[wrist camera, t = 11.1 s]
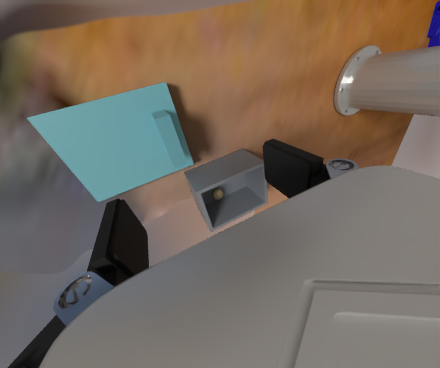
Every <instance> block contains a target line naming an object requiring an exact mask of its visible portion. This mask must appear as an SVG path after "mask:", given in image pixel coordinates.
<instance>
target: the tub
mask: <svg viewBox="0 0 440 368" xmlns="http://www.w3.org/2000/svg"><path fill="white" fill-rule="evenodd" d="M184 174H185V176H186V179H187V181H188V184H189V186H190V189H191V192H192V194H193V197H194V199H195V202H196V204H197V207H198V209H199V211H200V213H201V215H202V217H203V219H204V221H205V222H206V224H207V226H208V228H209V230H210V232H212V231H214V230H216V229H218V228H220V227H222V226H224V225H226V224H228V223H230V222H232V221H234V220H236V219H238V218H240V217H242V216H244V215H246V214H247V213H250V212H251V211H253V210H255V209H257V208H259V207H261V206H263V205H265V204H267V203H268V194H267V181H266V180H265V175H264V160H262V159H261V158H259V157H257V156H255V155H253V154H252V153H250V152H248V151H246V150H244V149H241V150H238V151H236V152H233V153H231V154H228V155H226V156H223V157H221V158H218V159H216V160H213V161H211V162H208V163H206V164H203V165H201V166H198V167H196V168H193V169H191V170H188V171H186V172H184Z"/></svg>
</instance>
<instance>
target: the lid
mask: <svg viewBox="0 0 440 368" xmlns="http://www.w3.org/2000/svg"><path fill="white" fill-rule="evenodd" d="M27 119H28V120H29V121H30V122H31V124H32V125H33V126H34V127H35V128H36V129H37V131H38V132H39V133H40V134H41V135H42V137H43V138H44V139H45V140H46V141H47V142H48V144H49V145H50V146H51V147H52V148H53V149H54V151H55V152H56V153H57V154H58V155H59V157H60V158H61V159H62V160H63V161H64V162H65V164H66V165H67V166H68V167H69V168H70V170H71V171H72V172H73V173H74V174H75V175H76V177H77V178H78V179H79V180H80V181H81V182H82V184H83V185H84V186H85V187H86V188H87V190H88V191H89V192H90V193H91V194H92V195H93V197H94V198H95V199H96V200H97V201H98V202H100V201H102V200H105V199H107V198H110V197H112V196H115V195H117V194H120V193H122V192H125V191H128V190H130V189H133V188H135V187H138V186H140V185H143V184H145V183H148V182H150V181H153V180H155V179H158V178H160V177H163V176H165V175H168V174H171V173H173V172H176V171H178V170H181V169H183V168H186V167H188V166H191V165H193V164H194V163H193V160H192V157H191V154H190V151H189V148H188V145H187V142H186V140H185V137H184V134H183V131H182V128H181V125H180V122H179V119H178V116H177V113H176V110H175V107H174V104H173V101H172V98H171V95H170V92H169V90H168V87H167V84H166V82H163V83H159V84H155V85H152V86H148V87H144V88H140V89H136V90H132V91H128V92H125V93H121V94H117V95H113V96H109V97H105V98H101V99H98V100H94V101H90V102H86V103H82V104H78V105H74V106H70V107H67V108H63V109H59V110H55V111H51V112H47V113H43V114H40V115H36V116H32V117H29V118H27Z"/></svg>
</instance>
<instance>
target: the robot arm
mask: <svg viewBox="0 0 440 368" xmlns="http://www.w3.org/2000/svg"><path fill="white" fill-rule="evenodd" d="M334 104H335V108H336V110H337V112H338V113H339V114H341V115H347V116H348V115H352V114H355V113H356V112H358V111H359V110H360V109H366V110H376V111H387V112H398V113H409V114H421V115H430V116H440V46H434V47H427V48H420V49H413V50H406V51H398V52H391V53H384V54H382V53H381V51H380V49H379V48H378V47H377V46H374V45H371V46H366V47H362V48H361V49H359V50H358V51H356V52H355V53H354V54H353V55H352V56H351V58H350V59H349V60H348V61H347V63H346V64H345V66H344V68H343V70H342V71H341V74H340V76H339V78H338V81H337V84H336V88H335V94H334ZM263 159H264V175H265V180H266V181H267V182H268V183H269V184H271V185H272V186H273V187H275V188H276V189H277V190H279V191H280V192H281V193H283V194H284V195H285V196H287V197H288V198H289V199H287V200H285V201H283V202H281V203H279V204H277V205H275V206H273V207H271V208H269V209H267V210H264V211H262V212H260V213H258V214H256V215H254V216H252V217H250V218H248V219H246V220H244V221H242V222H240V223H238V224H236V225H234V226H232V227H230V228H228V229H226V230H224V231H222V232H219V233H218V234H215V235H213V236H211V237H209V238H207V239H206V240H203V241H202V242H199V243H197V244H195V245H193V246H191V247H189V248H187V249H185V250H183V251H181V252H179V253H177V254H175V255H173V256H171V257H169V258H167V259H165V260H163V261H161V262H159V263H157V264H155V265H153V266H151V267H149V259H148V237H147V232H146V230H145V228H144V227H143V226H142V224H141V223H140V221H139V220H138V218H137V217H136V216H135V214H134V213H133V211H132V210H131V209H130V207H129V206H128V204H127V203H126V202H125V200H120V199H116V200H113V201H111V202H108V203H107V204H106V208H105V211H104V215H103V218H102V221H101V225H100V228H99V232H98V235H97V238H96V242H95V245H94V249H93V252H92V255H91V259H90V262H89V266H88V269H87V272H84V273H82V274H79V275H78V276H76V277H74V278H73V279H72V280H71V281H69V282H68V283H67V284H66V285H65V286H64V287H63V288H62V290H61V291H60V292H59V294H58V296H57V297H56V299H55V301H54V305H53V309H54V312H55V313H56V316H55V317H54V318H53V319H52V320H51V321H50V322H49V324H47V326H46V327H45V328H44V329H43V330H42V331H41V332H40V333H39V334H38V335H37V336H36V338H34V340H33V341H32V342H31V343H30V344H29V345H28V346H27V347H26V348H25V349H24V351H23V352H22V353H21V354H20V355H19V356H18V357H17V358H16V359H15V360H14V361H13V362H12V364H11V365H10V366H9V367H8V368H440V179H438V178H434V177H431V176H428V175H424V174H421V173H417V172H414V171H410V170H406V169H402V168H399V167H394V166H371V167H365V168H360V167H359V166H358V164H357V163H356V162H354V161H352V160H349V159H343V158H336V159H331V160H329V161H327V162H326V165H325V164H323V159H324V158H321V157H319V156H316V155H314V154H311V153H309V152H306V151H304V150H301V149H298V148H296V147H293V146H291V145H288V144H286V143H283V142H280V141H278V140H275V139H271V140H269V141H266V142H265V143H264V145H263Z"/></svg>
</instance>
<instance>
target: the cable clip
mask: <svg viewBox="0 0 440 368" xmlns="http://www.w3.org/2000/svg"><path fill="white" fill-rule="evenodd" d="M427 37H431V38H430V42H429V45H428V47H434V46H440V1H439V2H437V3H436V6H435V9H434V13H433V17H432V21H431V24H430V28H429V32H428V36H427Z"/></svg>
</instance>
